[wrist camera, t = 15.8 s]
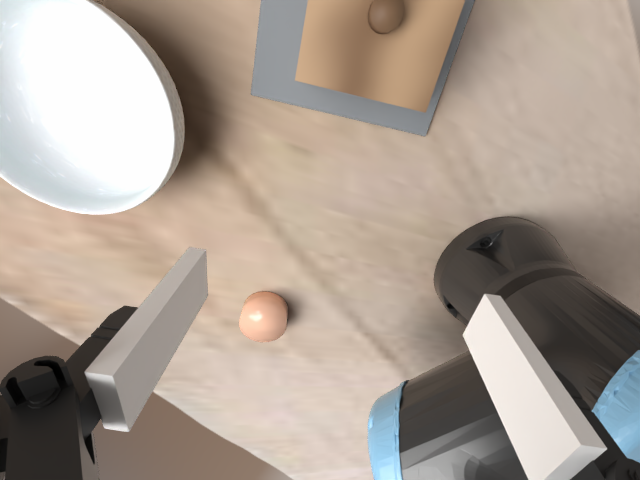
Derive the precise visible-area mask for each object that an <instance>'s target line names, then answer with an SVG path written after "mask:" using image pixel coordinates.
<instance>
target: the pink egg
mask: <svg viewBox="0 0 640 480" xmlns="http://www.w3.org/2000/svg"><path fill="white" fill-rule="evenodd" d="M287 312H288V308H287V304H286V302H285V301H284V299H283V298H282V297H280V296H279V295H277V294H275V293H272V292H266V291H263V292H257V293H254V294H252V295H250V296H249V297H248V298H247V299H246V300H245V302H244V305H243V309H242V312H241V316H240V320H239V327H240V330H241V331H242V333H243V334H244V335H245V336H246V337H248V338H249V339H251V340H254V341H258V342H269V341H273V340H276V339H278V338H279V337H281V336H282V335H283V333H284V332H285V330H286V325H287Z"/></svg>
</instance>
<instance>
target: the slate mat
mask: <svg viewBox="0 0 640 480" xmlns="http://www.w3.org/2000/svg"><path fill="white" fill-rule="evenodd" d="M474 1H475V0H465V2H464V5H463V8H462V11H461V13H460V16H459V19H458V22H457V25H456V28H455V31H454V33H453V36H452V39H451V42H450V45H449V48H448V51H447V54H446V56H445V59H444V62H443V65H442V68H441V71H440V74H439V76H438V79H437V82H436V85H435V88H434V91H433V94H432V96H431V99H430V102H429V105H428V108H427V111H426V113H425V112H421V111H416V110H412V109H408V108H404V107H400V106H396V105H392V104H388V103H384V102H380V101H376V100H372V99H368V98H364V97H360V96H356V95H352V94H348V93H343V92H339V91H335V90H331V89H327V88H323V87H319V86H315V85H311V84H307V83H303V82H299V81H295V76H296V70H297V64H298V58H299V52H300V46H301V40H302V33H303V27H304V21H305V15H306V9H307V3H308V0H261V6H260V15H259V24H258V33H257V43H256V52H255V61H254V70H253V79H252V88H251V95H254V96H258V97H262V98H266V99H270V100H275V101H279V102H283V103H287V104H291V105H296V106H300V107H304V108H308V109H312V110H317V111H321V112H325V113H329V114H333V115H338V116H342V117H346V118H350V119H354V120H359V121H363V122H367V123H371V124H375V125H380V126H384V127H388V128H392V129H396V130H401V131H405V132H409V133H413V134H417V135H422V136H426V133H427V131H428V128H429V125H430V122H431V120H432V117H433V114H434V111H435V109H436V106H437V103H438V100H439V98H440V95H441V92H442V89H443V87H444V84H445V81H446V78H447V76H448V73H449V70H450V67H451V65H452V62H453V59H454V56H455V54H456V51H457V48H458V45H459V42H460V40H461V37H462V34H463V31H464V29H465V26H466V23H467V20H468V18H469V15H470V12H471V9H472V7H473V4H474Z"/></svg>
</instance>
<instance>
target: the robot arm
mask: <svg viewBox="0 0 640 480" xmlns="http://www.w3.org/2000/svg"><path fill="white" fill-rule="evenodd" d="M434 286H435V290H436V293H437V295H438V297H439V298H440V300H441V302H442V303H443V305H444V306H445V308H446V309H447V310H448V311H449V312H450V313H451V314H452V315H453V316H454V317H455V318H457V319H458V320H460V321H461V322H462V323H464V324H465V325H467V327H466V329H465V331H464V333H463V337H464V339H465V342H466V344H467V346H468V348H469V350H470V351H468V352H466V353H464V354H462V355H460V356H458V357H456V358H454V359H452V360H450V361H448V362H446V363H444V364H442V365H440V366H438V367H435V368H433V369H431V370H429V371H427V372H425V373H423V374H421V375H419V376H417V377H415V378H413V379H411V380H407V381H404V382H402V383H401V384H400V386H398V387H397V388H395V389H393V390H391V391H390V392H388V393H386V394H384V395H383V396H381V397H380V398H378V399H377V400H376V402H375V403H374V404H373V406H372V408H371V411H370V415H369V420H368V449H369V456H370V462H371V467H372V472H373V476H374V480H640V316H639V315H638V314H637V313H635V312H634V311H632V310H631V309H629V308H628V307H626V306H625V305H624V304H622V303H621V302H619V301H618V300H616V299H615V298H613V297H612V296H610V295H609V294H608V293H606V292H605V291H603V290H602V289H600V288H599V287H597V286H596V285H595V284H593V283H592V282H590V281H588V280H587V279H586V278H584V277H583V276H581V275H580V274H579V273H577V271H576V270H575V268H574V267H573V265H572V264H571V262H570V261H569V259H568V257H567V256H566V254H565V253H564V251H563V250H562V248H561V247H560V245H559V244H558V242H557V241H556V239H555V238H554V237H553V236H552V235H551V234H550V233H548V232H547V231H546V230H544V229H542V228H541V227H539V226H538V225H536V224H534V223H533V222H530V221H528V220H525V219H522V218H516V217H502V218H495V219H491V220H487V221H484V222H481V223H479V224H477V225H475V226H473V227H471V228H469V229H467V230H466V231H464V232H463V233H461V234H460V235H459V236H458V237H456V238H455V239H454V240H453V241H452V242H451V243H450V244H449V245H448V247H447V248H446V249H445V250H444V252H443V253H442V255H441V257H440V259H439V261H438V263H437V266H436V269H435V273H434ZM207 296H208V284H207V260H206V249H199V248H193V247H189V248H188V249H187V250H186V252H185V253H184V254H183V255H182V256H181V258H180V259H179V260H178V261H177V262H176V264H175V265H174V266H173V267H172V268H171V269H170V271H169V272H168V273H167V274H166V275H165V277H164V278H163V279H162V280H161V281H160V283H159V284H158V285H157V286H156V287H155V289H154V290H153V291H152V292H151V293H150V294H149V296H148V297H147V298H146V299H145V300H144V302H143V303H142V304H141V305H140V306H139V308H137V307H130V306H123V307H122V308H120V309H118V310H117V311H115V312H113V313H112V314H110V315H109V316H108V317H107V318H106V319H105V320H104V322H103V323H102V324H101V325H100V327H99V328H97V329H96V330H95V331H94V332H93V333H92V334H91V337H89V338H88V339H87V340H86V341H85V342H84V343H83V344H82V345H81V346H80V347H79V349H78V350H77V351H76V352H75V353H74V354H73V355H72V356H71V357H70V358H69V359H68V360H67V361H66V362H64V360H63V359H61V358H59V357H57V356H43V357H39V358H34V359H32V360H29V361H27V362H25V363H22V364H21V365H19V366H18V367H16V368H15V369H13V370H12V371H10V372H9V373H8V374H7V376H6V377H5V378H4V379H3V380H2V382H1V384H0V392H1V394H2V395H0V480H3V478H4V476H5V480H100V479H99V471H98V464H97V456H96V448H95V440H94V434H93V432H92V430H93V429H94V428H95V426H96V425H97V423H98V422H99V420H100V419H101V420H102V423H103V425H104V428H105V429H112V430H119V431H126V432H129V431H130V429H131V427H132V425H133V424H134V422H135V420H136V419H137V417H138V415H139V414H140V412H141V410H142V408H143V407H144V405H145V403H146V401H147V400H148V398H149V396H150V395H151V393H152V391H153V390H154V388H155V386H156V384H157V383H158V381H159V379H160V377H161V376H162V374H163V372H164V371H165V369H166V367H167V365H168V364H169V362H170V360H171V358H172V357H173V355H174V353H175V352H176V350H177V348H178V346H179V345H180V343H181V341H182V340H183V338H184V336H185V334H186V333H187V331H188V329H189V327H190V326H191V324H192V322H193V321H194V319H195V317H196V315H197V314H198V312H199V310H200V309H201V307H202V305H203V303H204V302H205V300H206V298H207Z"/></svg>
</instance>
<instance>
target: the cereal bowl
mask: <svg viewBox="0 0 640 480" xmlns="http://www.w3.org/2000/svg"><path fill="white" fill-rule="evenodd" d="M184 128H185V126H184V114H183V108H182V106H181V102H180V97H179V95H178V92H177V90H176V87H175V84H174V82H173V80H172V78H171V76H170V74H169V72H168V70H167V69H166V67H165V66H164V64H163V62H162V61H161V59H160V58H159V57H158V55H157V54H156V52H155V51H154V50H153V48H152V47H151V46H150V45H149V44H148V43H147V41H146V40H145V39H144V38H143V37H142V36H140V35H139V33H138V32H137V31H135V30H134V28H132V27H131V26H130V25H128V24H127V23H126V22H125V21H124V20H123V19H121V18H120V17H118V16H117V15H116V14H115V13H113V12H111V11H110V10H108V9H107V8H105V7H104V6H102V5H101V4H99V3H97V2H95V1H93V0H0V177H2V178H3V179H4V180H6V181H7V182H8V183H10V184H11V185H12V186H14V187H15V188H17V189H19V190H20V191H22V192H23V193H25V194H27V195H29V196H31V197H33V198H35V199H37V200H39V201H41V202H43V203H46V204H48V205H51V206H54V207H56V208H60V209H63V210H67V211H71V212H76V213H83V214H112V213H117V212H122V211H125V210H128V209H131V208H134V207H136V206H138V205H140V204H141V203H143V202H145V201H147V200H148V199H149V198H150V197H152V196H153V195H154V194H156V193H157V192H158V191H159V190H160V189H161V188H162V187H163V186H164V185H165V183H166V182H167V181H168V180H169V179H170V177H171V175H172V174H173V173H174V171H175V169H176V167H177V165H178V162H179V160H180V157H181V153H182V150H183V144H184V139H185V138H184V134H185V130H184Z"/></svg>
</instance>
